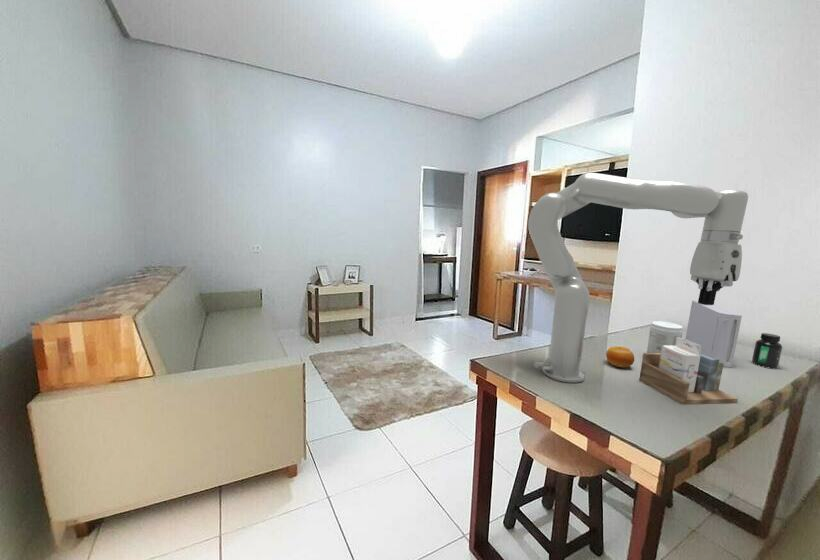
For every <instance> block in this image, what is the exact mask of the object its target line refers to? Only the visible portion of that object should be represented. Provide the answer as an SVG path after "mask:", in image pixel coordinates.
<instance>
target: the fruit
mask: <svg viewBox="0 0 820 560" xmlns="http://www.w3.org/2000/svg"><path fill="white" fill-rule="evenodd" d="M605 357H606V361H608V362H609V364H610V365H612V366H614V367H617V368H629V367H631V366H632V365H633V363H634V362H635V355H634V352H633V351H631V350H630V349H629V348H627V347H625V346H610V347H609V348H608V349H607V350H606V352H605Z"/></svg>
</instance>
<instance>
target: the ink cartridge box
mask: <svg viewBox="0 0 820 560" xmlns="http://www.w3.org/2000/svg"><path fill="white" fill-rule="evenodd" d="M687 343H688V344H689V345H691V346H692V348H691V347H689V346H688V345H687ZM700 352H701V345H699V344H696V343H693V342H691V341H688V340H686V338H680V337H677V338H676V346H667V345H663V346H662V351H661V357H660V363H659V369H661V370H663V371H665V372H667V373H669V374H671V375H673V376H675V377H677V378H679V379H682V380H684V381H686V382H688V383H690V384H689V389H688V392H694V388H695V383H696V378H697V373H698V367H699V362H700V357H701V356H700Z"/></svg>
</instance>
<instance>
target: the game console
mask: <svg viewBox="0 0 820 560" xmlns="http://www.w3.org/2000/svg"><path fill="white" fill-rule="evenodd" d="M742 317H743V315H741V314H738V313H736V312H732V311H731V310H728V309H725V308H724V307H722V306H718V305H716V304H714V305H703V304H699V303H698V300H691V305H690V311H689V317H688V321H687V327H686V328H687V329H686V335H685V340H688V341H691V342H693V343H696V344H699V345H701V353H703V354H706V355H709V356H711V357H714V358H717V359H719V361H720V362H722V363H724V365H723V368H732V366H733V362H734V356H735V352H736V347H737V343H738V342H737V341H738V336H739V332H740V327H741V323H742V319H743V318H742ZM686 346H688V347H691V348H692V346H691V345H689V344H688V343H687V344H686Z"/></svg>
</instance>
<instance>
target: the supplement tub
mask: <svg viewBox="0 0 820 560" xmlns="http://www.w3.org/2000/svg"><path fill="white" fill-rule="evenodd" d="M683 331H684V330H683V326H682V325H680V324H678V323H673V322H670V321H669V322H668V321H663V320H660V321H659V320H655V321H651V323H650V328H649V334H648V335H649V336H648V341H647V350H646V353H661V351H662V346H663V345H667V346H676V338H677V337H680V338H682V337H683ZM682 339H683V338H682Z"/></svg>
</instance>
